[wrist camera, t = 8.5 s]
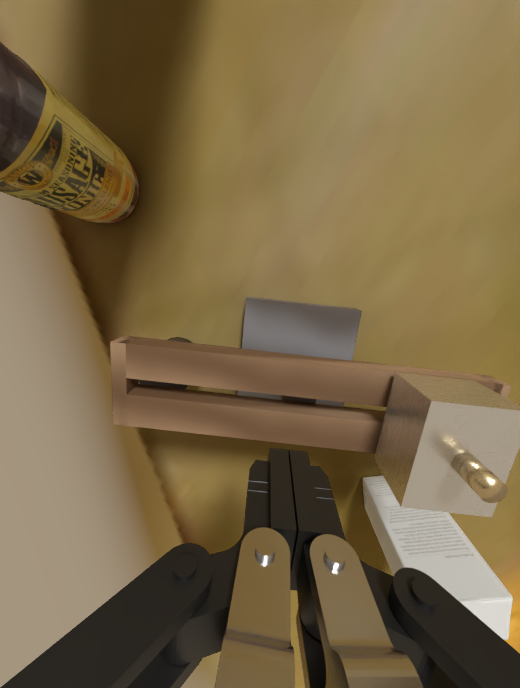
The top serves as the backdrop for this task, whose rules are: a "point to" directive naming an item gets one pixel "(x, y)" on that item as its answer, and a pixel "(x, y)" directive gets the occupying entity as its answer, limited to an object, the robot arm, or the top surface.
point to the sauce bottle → (58, 150)
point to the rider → (447, 444)
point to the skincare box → (437, 553)
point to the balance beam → (264, 380)
